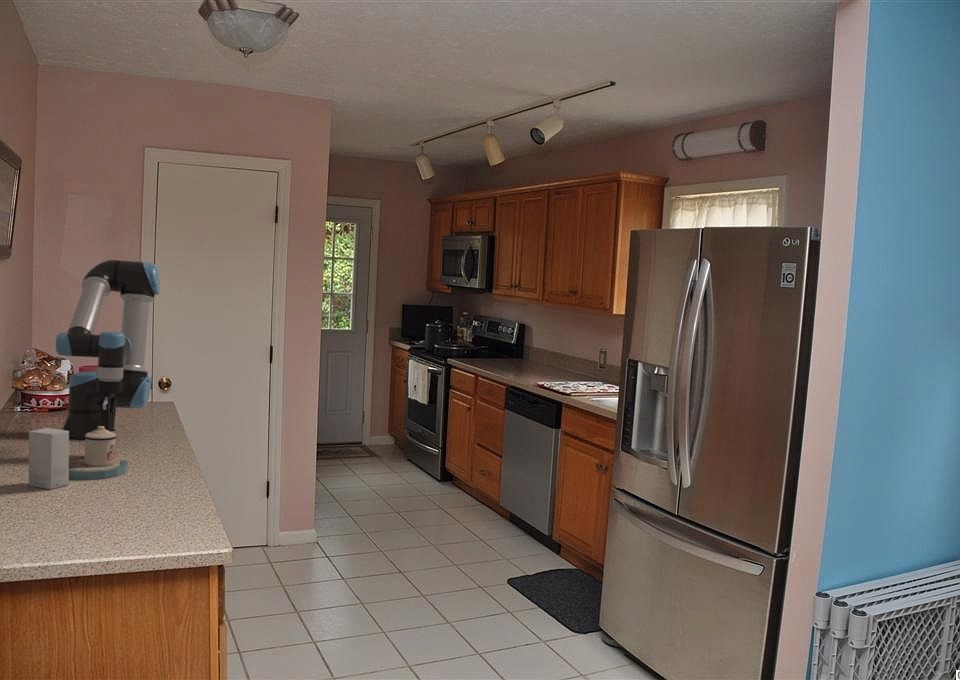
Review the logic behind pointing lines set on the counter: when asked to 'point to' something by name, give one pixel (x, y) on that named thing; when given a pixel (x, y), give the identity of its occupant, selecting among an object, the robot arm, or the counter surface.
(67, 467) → the skincare box
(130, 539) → the counter surface
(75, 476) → the open curved ring
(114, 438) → the teacup with lid
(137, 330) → the robot arm
